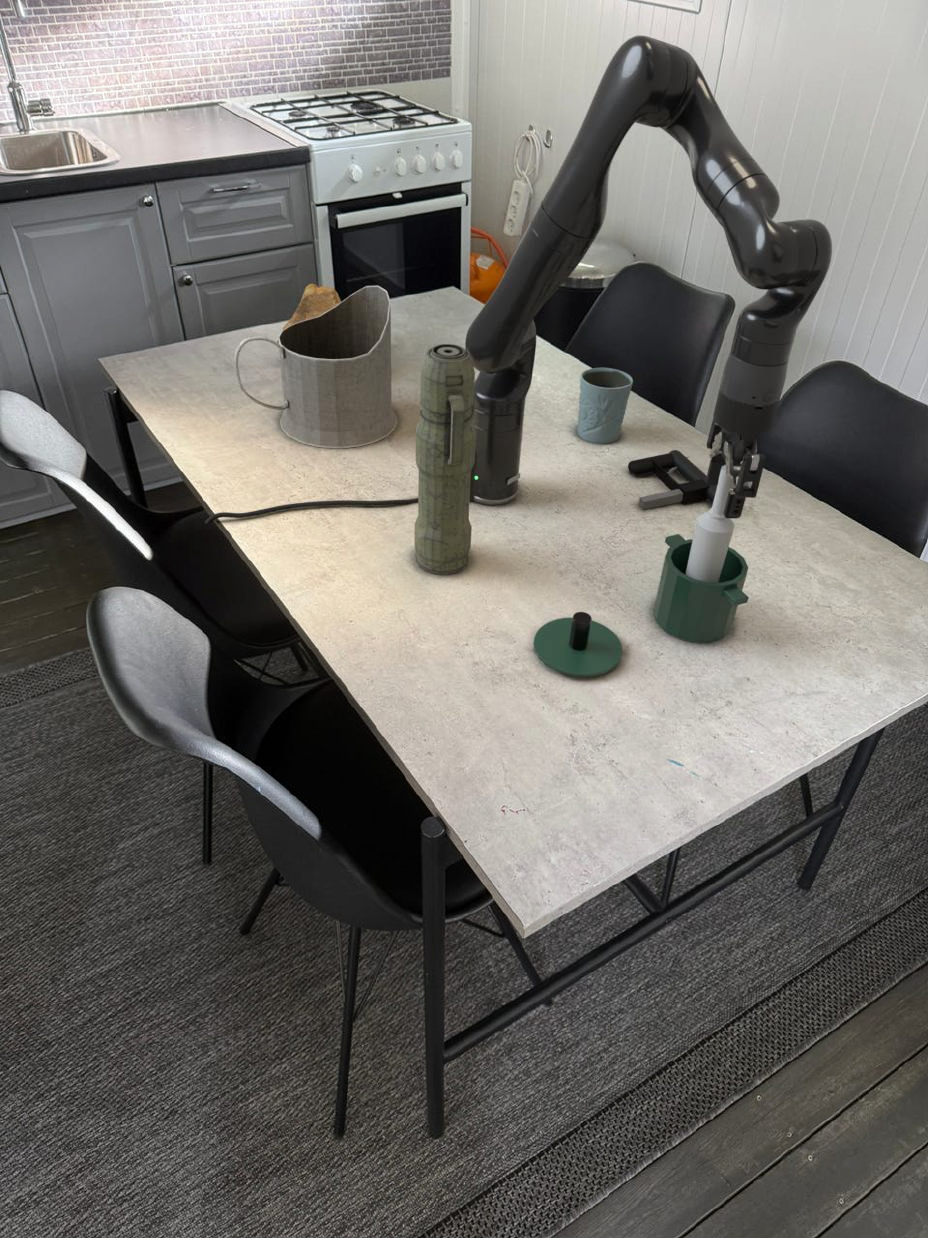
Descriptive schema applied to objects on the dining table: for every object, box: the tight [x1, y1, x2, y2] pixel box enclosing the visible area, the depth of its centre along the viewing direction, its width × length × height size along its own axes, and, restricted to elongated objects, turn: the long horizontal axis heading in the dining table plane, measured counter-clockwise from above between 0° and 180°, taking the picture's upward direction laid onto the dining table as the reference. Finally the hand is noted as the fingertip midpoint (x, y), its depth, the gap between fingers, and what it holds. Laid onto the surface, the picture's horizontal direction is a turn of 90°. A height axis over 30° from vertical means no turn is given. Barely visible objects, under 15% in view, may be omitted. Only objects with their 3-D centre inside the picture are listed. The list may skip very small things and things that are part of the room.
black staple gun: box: [627, 449, 718, 511], centre depth 166 cm, size 3×20×16 cm
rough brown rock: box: [276, 283, 342, 344], centre depth 200 cm, size 23×17×15 cm
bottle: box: [685, 465, 738, 583], centre depth 129 cm, size 5×5×25 cm
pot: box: [653, 533, 750, 644], centre depth 134 cm, size 12×17×10 cm
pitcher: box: [233, 285, 398, 449], centre depth 174 cm, size 23×32×25 cm
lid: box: [533, 611, 623, 678], centre depth 129 cm, size 13×13×6 cm
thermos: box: [414, 343, 476, 576], centre depth 136 cm, size 9×12×35 cm
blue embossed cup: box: [576, 367, 634, 445], centre depth 180 cm, size 10×10×12 cm
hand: (722, 500), depth 124 cm, fingers open, 8 cm apart
